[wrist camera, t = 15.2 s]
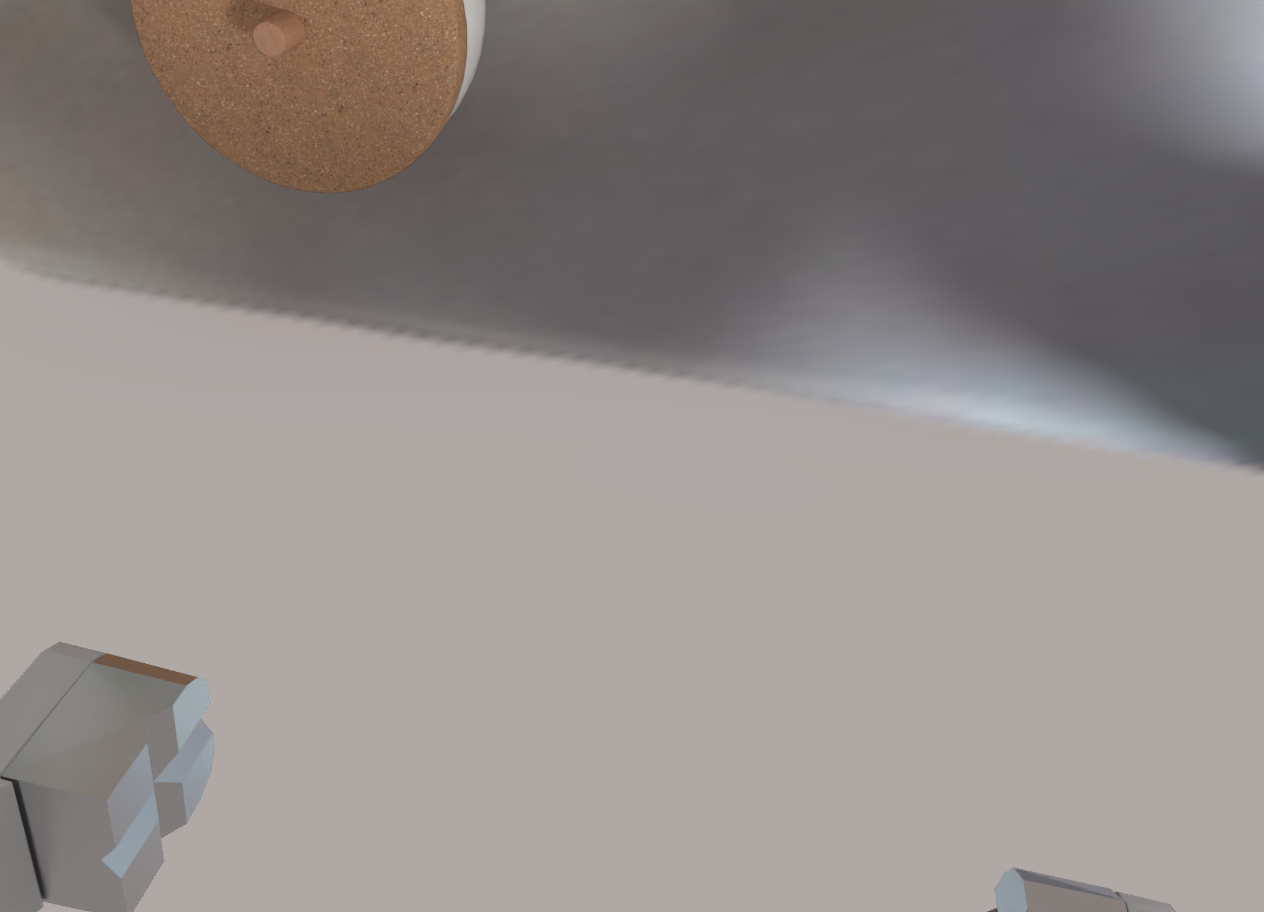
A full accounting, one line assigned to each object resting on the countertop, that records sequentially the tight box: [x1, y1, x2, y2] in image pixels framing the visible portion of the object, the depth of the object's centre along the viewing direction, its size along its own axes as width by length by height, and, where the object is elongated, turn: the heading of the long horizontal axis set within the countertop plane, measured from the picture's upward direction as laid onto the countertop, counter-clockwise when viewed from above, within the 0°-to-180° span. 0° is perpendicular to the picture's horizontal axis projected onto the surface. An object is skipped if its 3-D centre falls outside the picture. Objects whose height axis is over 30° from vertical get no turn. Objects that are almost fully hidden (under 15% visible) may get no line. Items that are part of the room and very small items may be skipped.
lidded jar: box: [130, 0, 486, 193], centre depth 37 cm, size 11×11×9 cm
